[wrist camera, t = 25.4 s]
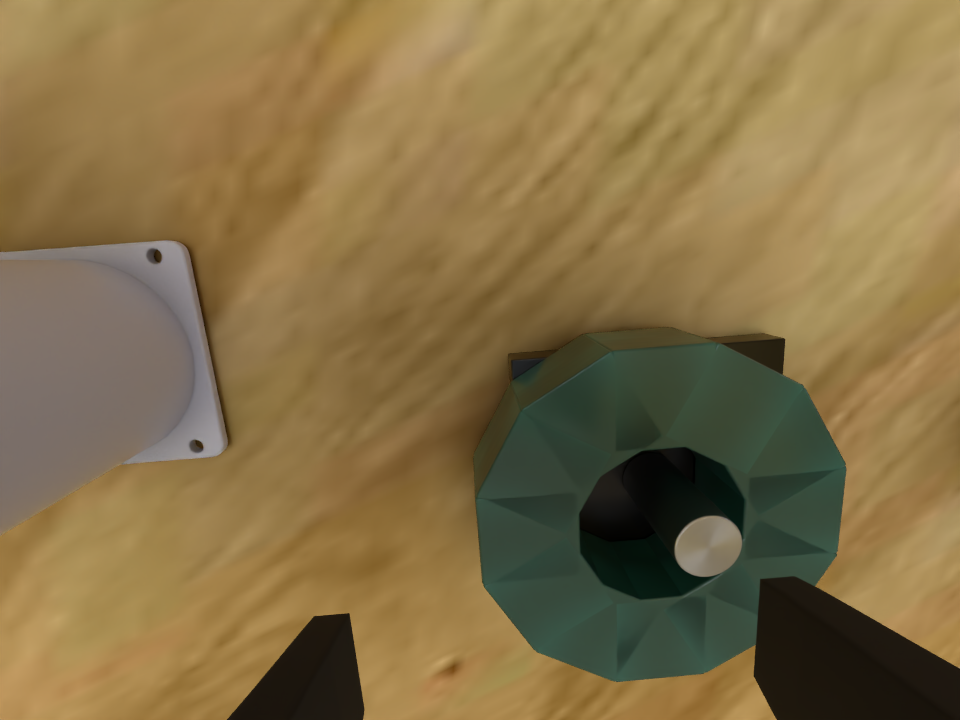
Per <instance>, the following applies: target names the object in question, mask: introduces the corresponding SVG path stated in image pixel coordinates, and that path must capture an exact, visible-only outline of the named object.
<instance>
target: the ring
mask: <svg viewBox="0 0 960 720" xmlns="http://www.w3.org/2000/svg"><path fill="white" fill-rule="evenodd" d="M681 447H686V448H688V449H690V450H691V451H692V453H693V454H694V456H695V486H696V487H697V488H698V489H699V490H700V491H701V492H702V493H703V494H704V495H705V496H706V497H707V498H709V499H710V500H711V501H712V502H713V503H714V504H715V505H716V506H717V507H718V508H719V509H720V510H721V511H722V512H723V513H724V514H725V515H726V516H727V517H728V518H729V519H730V520H731V521H732V522H733V523H734V524H735V525H736V526H737V527H738V529H739V531H740V533H741V537H742V548H741V552H740V554H739V557H738V558H737V560H736V561H735V562H734V564H733V565H732V566H731V567H729V568H728V569H727V570H725V571H724V572H722V573H720V574H717V575H714V576H709V577H699V576H695V575H692V574H689V573H688V572H686V571H684V570H683V569H682V568H681V567H680V566H679V565H678V563H677V562H676V560H675V559H674V558H673V556H672V555H671V553H670V552H669V550H668V549H667V548H666V546H665V545H664V543H663V542H662V541H661V539H660V538H659V536H658V535H657V534H656V533H654V534H652V535H651V536H649V537H647V538H646V539H637V540H626V541H615V542H609V541H606V540H604V539H601V538H599V537H597V536H594V535H592V534H590V533H587V532H585V531H583V530H580V517H579V513H580V511H581V510H582V508H583V506H584V504H585V503H586V501H587V499H588V497H589V496H590V494H591V492H592V490H593V489H594V487H595V485H596V483H597V482H598V480H599V478H600V477H601V476H602V475H604V474H606V473H607V472H609V471H610V470H612V469H613V468H615V467H617V466H618V465H620V464H621V463H623V462H625V461H626V460H628V459H629V458H631V457H633V456H634V455H636V454H637V453H639V452H641V451H646V450H658V449H670V448H681ZM473 465H474V484H475V502H476V514H477V526H478V538H479V550H480V562H481V573H482V583H483V584H484V587H485V589H486V590H487V591H488V592H489V594H490V595H491V596H492V597H493V599H494V600H495V601H496V603H497V604H498V605H499V606H500V608H501V609H502V610H503V611H504V613H505V614H506V615H507V616H508V618H509V619H510V620H511V621H512V623H513V624H514V625H515V626H516V628H517V629H518V630H519V631H520V633H521V634H522V635H523V636H524V638H525V639H526V640H527V641H528V643H529V644H530V645H531V647H532V648H533V649H534V650H536V652H538V653H541V654H543V655H546V656H548V657H551V658H554V659H556V660H559V661H562V662H564V663H567V664H569V665H572V666H575V667H577V668H580V669H583V670H585V671H588V672H590V673H593V674H596V675H598V676H601V677H604V678H606V679H609V680H611V681H616V682H623V681H633V680H644V679H654V678H665V677H675V676H685V675H696V674H704V673H705V672H708V671H710V670H712V669H714V668H715V667H717V666H719V665H721V664H722V663H724V662H726V661H728V660H729V659H731V658H733V657H735V656H736V655H738V654H740V653H742V652H744V651H745V650H747V649H749V648H751V647H752V646H754V645H756V635H757V620H758V606H759V591H760V579H766V578H778V577H790V576H796V577H798V578H800V579H801V580H803V581H805V582H807V583H809V584H811V585H813V586H815V585H816V584H817V583H818V581H819V580H820V578H821V577H822V576H823V574H824V573H825V571H826V570H827V569H828V567H829V566H830V564H831V563H832V561H833V560H834V559H835V557H836V556H837V554H836V553H837V551H838V542H839V533H840V523H841V514H842V505H843V496H844V486H845V477H846V466H845V465H846V464H845V462H844V460H843V458H842V456H841V454H840V452H839V450H838V449H837V447H836V445H835V443H834V441H833V439H832V437H831V435H830V434H829V432H828V430H827V428H826V426H825V424H824V422H823V420H822V419H821V417H820V415H819V413H818V411H817V409H816V407H815V405H814V404H813V402H812V400H811V398H810V396H809V394H808V392H807V390H806V389H805V388H804V386H803V385H802V384H800V383H798V382H796V381H794V380H792V379H790V378H788V377H786V376H784V375H782V374H780V373H778V372H776V371H774V370H772V369H770V368H768V367H766V366H764V365H762V364H760V363H758V362H756V361H754V360H752V359H750V358H748V357H746V356H744V355H742V354H740V353H738V352H736V351H734V350H732V349H730V348H728V347H727V346H725V345H723V344H721V343H718V342H715V341H712V340H709V339H706V338H703V337H700V336H696V335H693V334H690V333H687V332H684V331H681V330H678V329H675V328H669V327H662V328H650V329H637V330H625V331H612V332H600V333H587V334H584V335H583V334H582V335H580V336H579V337H577V338H576V339H574V340H573V341H571V342H570V343H568V344H567V345H565V346H564V347H562V348H561V349H559V350H558V351H556V352H555V353H553V354H552V355H550V356H549V357H547V358H546V359H544V360H543V361H541V362H540V363H538V364H537V365H535V366H534V367H532V368H531V369H529V370H528V371H526V372H525V373H523V374H522V375H520V376H519V377H517V378H516V379H514V380H513V381H511V383H510V384H509V386H508V388H507V390H506V392H505V394H504V396H503V398H502V399H501V401H500V403H499V405H498V407H497V409H496V411H495V413H494V415H493V417H492V419H491V421H490V423H489V425H488V427H487V429H486V431H485V433H484V435H483V437H482V439H481V441H480V443H479V445H478V447H477V449H476V450H475V452H474V457H473Z"/></svg>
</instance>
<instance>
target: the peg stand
mask: <svg viewBox="0 0 960 720" xmlns="http://www.w3.org/2000/svg"><path fill="white" fill-rule="evenodd" d="M706 339H709V340H712V341H715V342H718V343H721V344H723V345H725V346H727V347H728V348H730V349H732V350H734V351H736V352H738V353H740V354H742V355H744V356H746V357H748V358H750V359H752V360H754V361H756V362H758V363H760V364H762V365H764V366H766V367H768V368H770V369H772V370H774V371H776V372H778V373H780V374H782V375H783V363H784V349H785V339H784V338H781V337H777V336H772V335H768V334H751V335H738V336H726V337H713V338H706ZM556 351H558V350H548V351H535V352H523V353H510V354H508V363H509V379H510V383H511V381H513V380H514V379H516V378H517V377H519V376H520V375H522V374H523V373H525V372H526V371H528V370H529V369H531V368H532V367H534V366H535V365H537V364H538V363H540V362H541V361H543V360H544V359H546V358H547V357H549V356H550V355H552V354H553V353H555V352H556ZM579 517H580V530H583V531H585V532H587V533H590V534H592V535H594V536H597V537H599V538H601V539H604V540H606V541H609V542H615V541H626V540H637V539H646V538H647V537H649V536H651V535H652V534H654V533H656V534H657V535H658V536H659V538H660V539H661V541H662V542H663V543H664V545H665V546H666V548H667V549H668V550H669V552H670V553H671V555H672V556H673V558H674V559H675V560H676V562H677V563H678V565H679V566H680V567H681V568H682V569H683V570H684V571H686V572H688V573H689V574H692V575H695V576H699V577H709V576H714V575H717V574H720V573H722V572H724V571H725V570H727V569H728V568H729V567H731V566H732V565H733V564H734V562H735V561H736V560H737V558H738V557H739V554H740V552H741V548H742V537H741V533H740V531H739V529H738V527H737V526H736V525H735V524H734V523H733V522H732V521H731V520H730V519H729V518H728V517H727V516H726V515H725V514H724V513H723V512H722V511H721V510H720V509H719V508H718V507H717V506H716V505H715V504H714V503H713V502H712V501H711V500H710V499H709V498H707V497H706V496H705V495H704V494H703V493H702V492H701V491H700V490H699V489H698V488H697V487H696V486H695V456H694V454H693V453H692V451H691V450H690V449H688V448H686V447H681V448H670V449H658V450H646V451H641V452H639V453H637V454H636V455H634V456H633V457H631V458H629V459H628V460H626V461H625V462H623V463H621V464H620V465H618V466H617V467H615V468H613V469H612V470H610V471H609V472H607V473H606V474H604V475H602V476H601V477H600V478H599V480H598V482H597V483H596V485H595V487H594V489H593V490H592V492H591V494H590V496H589V497H588V499H587V501H586V503H585V504H584V506H583V508H582V510H581V511H580V513H579Z"/></svg>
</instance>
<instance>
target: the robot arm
mask: <svg viewBox="0 0 960 720" xmlns="http://www.w3.org/2000/svg"><path fill="white" fill-rule="evenodd" d="M156 250H158V251H160V253H161V255H162V260H161V262H160V263H158V262H157V261H156V260H155V258H154V252H155V251H156ZM195 440H199V441H200V442H202V444H203V449H202V448H199V447H198V446H197V445H196V443H195ZM227 446H228V439H227V435H226V430H225V425H224V420H223V415H222V410H221V405H220V400H219V396H218V391H217V386H216V381H215V376H214V371H213V366H212V361H211V357H210V352H209V347H208V342H207V337H206V332H205V327H204V323H203V318H202V313H201V308H200V303H199V298H198V293H197V288H196V284H195V279H194V274H193V269H192V264H191V259H190V254H189V252H188V249H187V248H186V247H185V246H184V245H183V244H182V243H180V242H178V241H169V240H164V241H150V242H136V243H123V244H109V245H95V246H81V247H67V248H54V249H40V250H26V251H12V252H0V536H1V535H3V534H4V533H6V532H8V531H9V530H11V529H13V528H14V527H16V526H18V525H19V524H21V523H23V522H24V521H26V520H28V519H29V518H31V517H33V516H34V515H36V514H38V513H39V512H41V511H43V510H44V509H46V508H48V507H50V506H51V505H53V504H55V503H56V502H58V501H60V500H61V499H63V498H65V497H66V496H68V495H70V494H71V493H73V492H75V491H76V490H78V489H80V488H81V487H83V486H85V485H86V484H88V483H90V482H92V481H93V480H95V479H97V478H98V477H100V476H102V475H103V474H105V473H107V472H108V471H110V470H112V469H113V468H115V467H117V466H118V465H121V464H133V463H146V462H158V461H170V460H182V459H194V458H206V457H215V456H218V455H219V454H221V453H222V452H223V451H224V450H226V448H227ZM754 677H755V679H756V681H757V683H758V685H759V687H760V689H761V691H762V693H763V695H764V696H765V698H766V700H767V702H768V704H769V706H770V708H771V710H772V712H773V714H774V715H775V717H776V719H777V720H960V669H959V668H958V667H956V666H954V665H952V664H951V663H949V662H947V661H945V660H943V659H942V658H940V657H938V656H936V655H935V654H933V653H931V652H929V651H928V650H926V649H924V648H922V647H920V646H919V645H917V644H915V643H913V642H912V641H910V640H908V639H906V638H905V637H903V636H901V635H899V634H898V633H896V632H894V631H893V630H891V629H889V628H887V627H886V626H884V625H882V624H880V623H879V622H877V621H875V620H873V619H872V618H870V617H868V616H866V615H865V614H863V613H861V612H859V611H858V610H856V609H854V608H852V607H851V606H849V605H847V604H845V603H844V602H842V601H840V600H838V599H837V598H835V597H833V596H831V595H829V594H828V593H826V592H824V591H822V590H820V589H819V588H817V587H815V586H813V585H811V584H809V583H807V582H805V581H803V580H801V579H800V578H798V577H796V576H790V577H778V578H766V579H760V591H759V606H758V620H757V635H756V650H755V665H754ZM363 716H364V704H363V697H362V691H361V685H360V678H359V672H358V665H357V659H356V653H355V646H354V640H353V634H352V627H351V621H350V614H349V613H348V614H336V615H324V616H314V617H313V618H312V620H311V621H310V622H309V623H308V624H307V625H306V626H305V628H304V629H303V630H302V631H301V632H300V633H299V635H298V636H297V637H296V638H295V639H294V641H293V642H292V643H291V644H290V645H289V647H288V648H287V649H286V650H285V652H284V653H283V654H282V655H281V656H280V658H279V659H278V660H277V661H276V662H275V664H274V665H273V666H272V667H271V668H270V670H269V671H268V672H267V673H266V674H265V676H264V677H263V678H262V679H261V680H260V682H259V683H258V684H257V685H256V686H255V688H254V689H253V690H252V691H251V692H250V694H249V695H248V696H247V697H246V698H245V699H244V701H243V702H242V703H241V704H240V705H239V706H238V707H237V709H236V710H235V711H234V712H233V713H232V714H231V716H230V717H229V718H228V719H227V720H363Z"/></svg>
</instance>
